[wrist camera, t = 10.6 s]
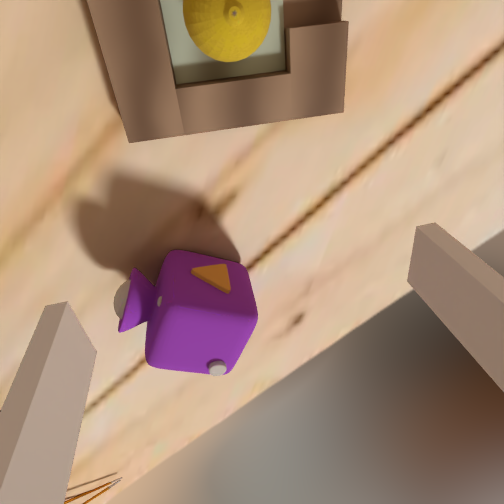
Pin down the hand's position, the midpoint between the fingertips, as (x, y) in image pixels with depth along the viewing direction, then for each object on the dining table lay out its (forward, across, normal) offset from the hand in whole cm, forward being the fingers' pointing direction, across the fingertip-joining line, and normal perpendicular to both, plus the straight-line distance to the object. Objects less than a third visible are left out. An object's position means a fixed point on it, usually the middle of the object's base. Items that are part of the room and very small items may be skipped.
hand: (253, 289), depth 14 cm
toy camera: (+23, -6, -16) cm, 28 cm away
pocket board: (+22, +3, +9) cm, 24 cm away
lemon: (+21, +3, +8) cm, 23 cm away
